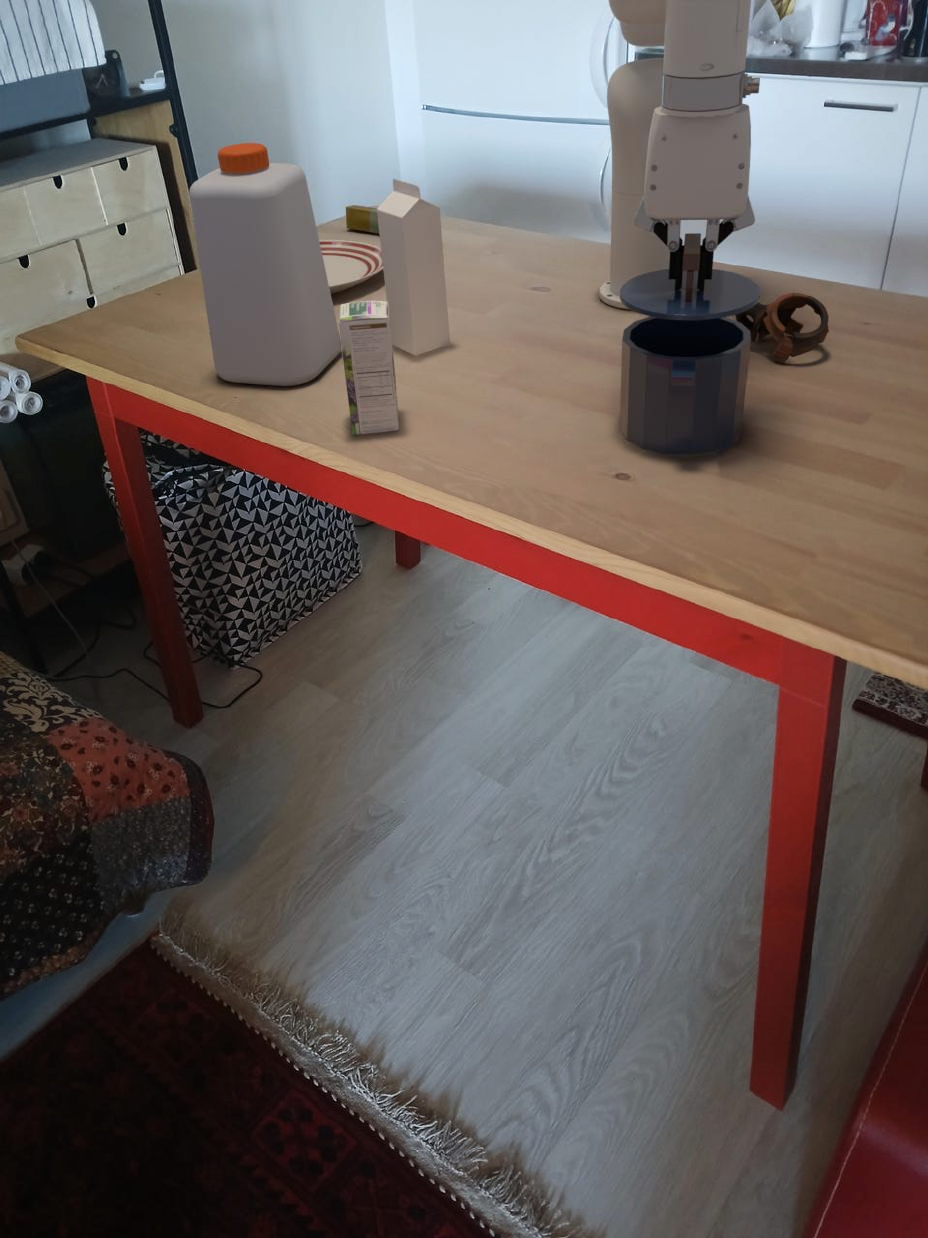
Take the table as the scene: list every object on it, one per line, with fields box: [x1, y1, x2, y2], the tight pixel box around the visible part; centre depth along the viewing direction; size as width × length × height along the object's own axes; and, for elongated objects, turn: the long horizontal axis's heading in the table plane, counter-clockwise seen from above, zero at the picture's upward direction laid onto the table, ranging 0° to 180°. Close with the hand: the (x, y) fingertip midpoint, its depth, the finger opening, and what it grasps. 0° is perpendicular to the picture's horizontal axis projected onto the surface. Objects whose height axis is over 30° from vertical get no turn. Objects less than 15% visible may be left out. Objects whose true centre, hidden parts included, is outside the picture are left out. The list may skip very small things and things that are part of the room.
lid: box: [620, 232, 761, 320], centre depth 107 cm, size 15×15×6 cm
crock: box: [619, 316, 752, 456], centre depth 115 cm, size 14×19×12 cm
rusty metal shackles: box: [734, 292, 830, 364], centre depth 133 cm, size 12×10×8 cm
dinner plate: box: [319, 239, 383, 295], centre depth 168 cm, size 28×27×3 cm
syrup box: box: [338, 300, 400, 436], centre depth 120 cm, size 6×6×14 cm
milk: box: [376, 178, 451, 357], centre depth 137 cm, size 6×6×22 cm
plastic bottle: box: [189, 142, 342, 387], centre depth 133 cm, size 15×15×28 cm
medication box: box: [345, 204, 380, 235], centre depth 188 cm, size 12×3×4 cm, turn 56°
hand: (689, 284), depth 108 cm, fingers closed on lid
